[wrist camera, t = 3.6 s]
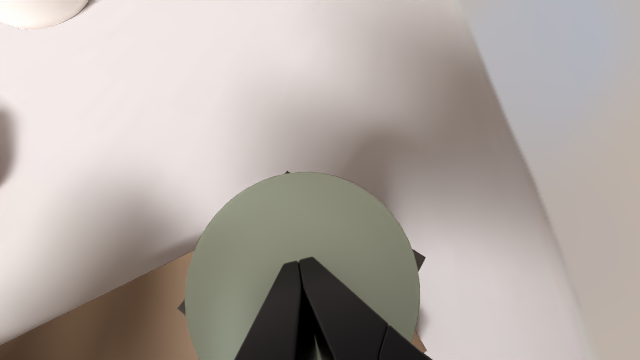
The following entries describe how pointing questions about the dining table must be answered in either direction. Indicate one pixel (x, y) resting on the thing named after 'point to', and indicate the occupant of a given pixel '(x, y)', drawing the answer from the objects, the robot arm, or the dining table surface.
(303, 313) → the robot arm
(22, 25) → the alcohol
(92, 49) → the dining table surface
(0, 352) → the button board
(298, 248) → the pale green rounded piece
